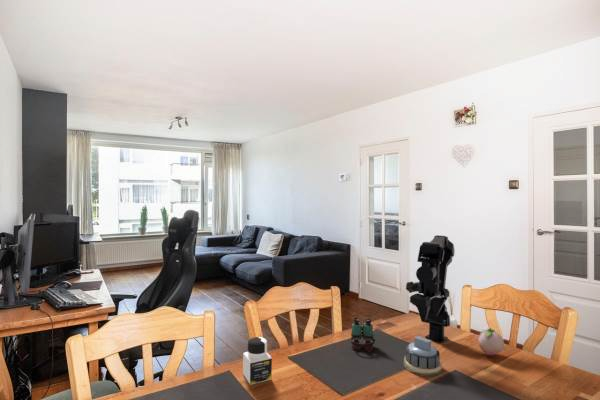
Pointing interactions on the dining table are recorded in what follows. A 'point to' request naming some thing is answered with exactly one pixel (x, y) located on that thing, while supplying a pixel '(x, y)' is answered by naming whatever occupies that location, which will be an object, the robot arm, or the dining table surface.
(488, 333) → the decorative fruit
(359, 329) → the binoculars
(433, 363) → the notched grey ring
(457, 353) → the dining table surface
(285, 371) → the dining table surface
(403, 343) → the dining table surface
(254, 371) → the medicine bottle
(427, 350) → the grey rounded piece
